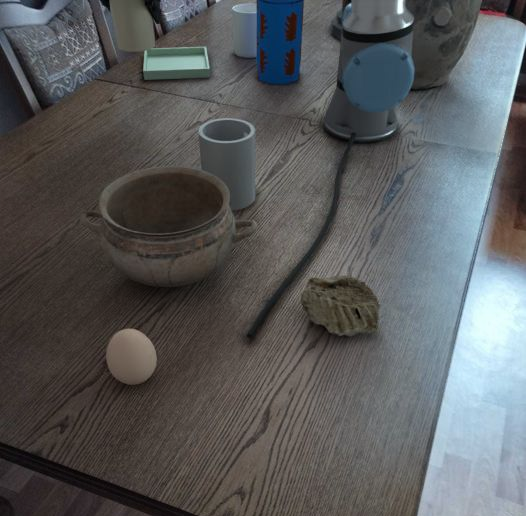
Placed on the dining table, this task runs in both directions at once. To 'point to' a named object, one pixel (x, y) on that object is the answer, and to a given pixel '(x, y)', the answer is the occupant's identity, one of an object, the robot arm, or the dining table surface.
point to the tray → (176, 63)
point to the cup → (230, 157)
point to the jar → (132, 25)
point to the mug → (245, 30)
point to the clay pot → (440, 37)
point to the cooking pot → (167, 225)
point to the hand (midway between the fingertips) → (138, 15)
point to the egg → (131, 357)
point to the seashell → (341, 305)
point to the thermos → (279, 40)
